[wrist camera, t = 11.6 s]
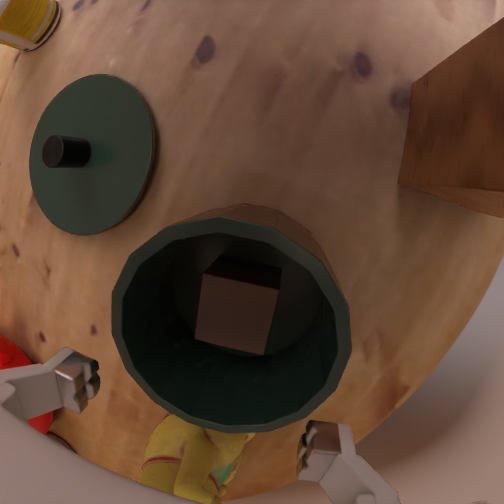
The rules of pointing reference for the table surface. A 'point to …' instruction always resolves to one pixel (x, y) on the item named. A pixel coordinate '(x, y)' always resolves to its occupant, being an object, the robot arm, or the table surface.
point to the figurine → (191, 460)
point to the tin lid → (92, 154)
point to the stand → (460, 127)
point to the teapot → (10, 356)
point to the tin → (223, 358)
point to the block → (237, 304)
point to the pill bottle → (27, 22)
